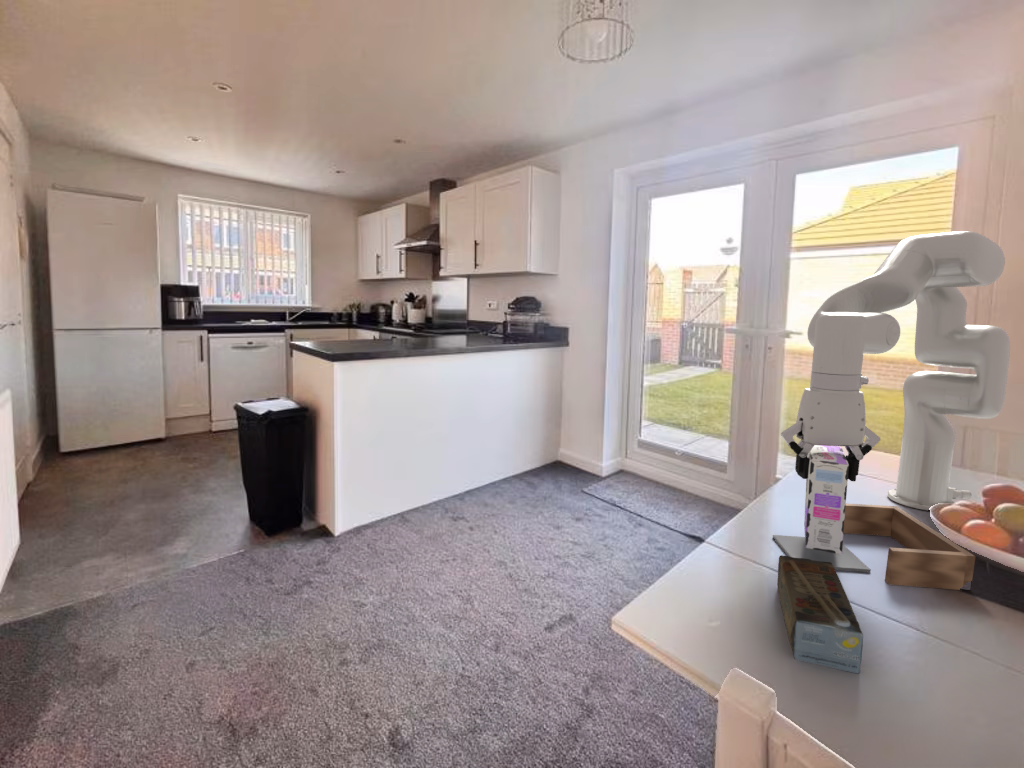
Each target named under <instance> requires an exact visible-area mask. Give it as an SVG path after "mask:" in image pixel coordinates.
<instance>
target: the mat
mask: <svg viewBox="0 0 1024 768" xmlns="http://www.w3.org/2000/svg"><path fill="white" fill-rule="evenodd" d="M773 538H774V539H775V540H776V541H775V540H774V539H773ZM772 539H773V540H774V541H775V542H776V543H778V544H777V545H778V546H779V548H780V549H782V551H783V552H784V553H785V556H789V557H793V558H804V559H810V560H813V561H820V562H831V563H832V565H833V567H834V569H835V571H842V572H852V573H853V572H854V573H856V572H857V573H868V574H869V573H871V571H872V570H871V569H870V567H869V566H867V564H866V563H865V562H863V561H862V560H861V559H860V558H859V557H858V556H856V554H854V553H853V552H852V551H851V550H850V549H849V548H848V547H847V546H845V544H843V549H842V554H835V553H830V552H825V551H820V550H814V549H809V548H805V536H797V535H796V536H794V535H793V536H792V535H782V534H781V535H779V534H773V535H772Z"/></svg>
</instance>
